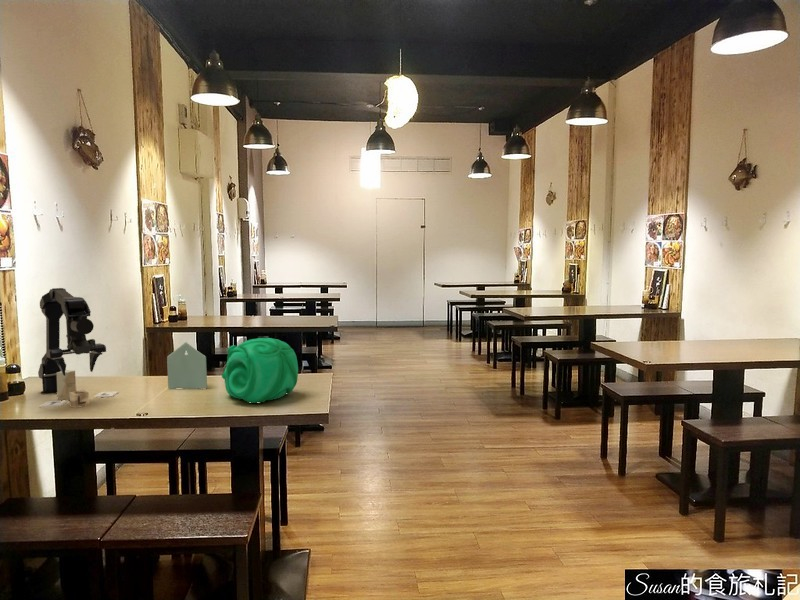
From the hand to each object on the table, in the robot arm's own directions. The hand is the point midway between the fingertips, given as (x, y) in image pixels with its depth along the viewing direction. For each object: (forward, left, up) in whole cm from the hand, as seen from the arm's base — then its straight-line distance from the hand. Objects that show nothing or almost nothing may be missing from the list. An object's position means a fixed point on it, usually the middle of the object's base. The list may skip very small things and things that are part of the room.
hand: (78, 373), depth 211 cm
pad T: (-10, +2, -12) cm, 16 cm away
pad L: (+4, +14, -12) cm, 19 cm away
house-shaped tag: (+34, +25, -12) cm, 44 cm away
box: (-9, +10, -12) cm, 18 cm away
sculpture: (+65, +4, -12) cm, 66 cm away
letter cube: (0, 0, -12) cm, 12 cm away
